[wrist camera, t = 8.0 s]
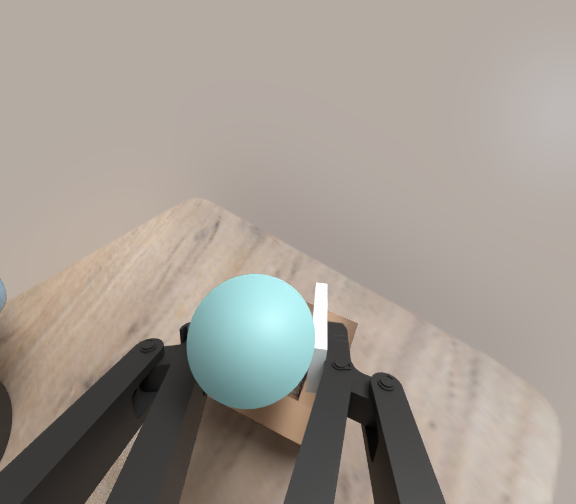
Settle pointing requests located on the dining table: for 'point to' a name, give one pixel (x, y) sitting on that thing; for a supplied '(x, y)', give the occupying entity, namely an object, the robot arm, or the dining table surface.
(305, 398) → the socket block
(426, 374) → the dining table surface
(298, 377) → the dowel
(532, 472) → the dining table surface
